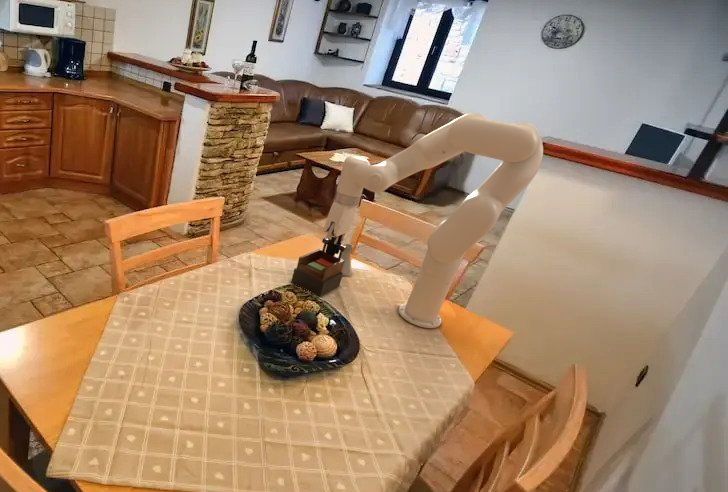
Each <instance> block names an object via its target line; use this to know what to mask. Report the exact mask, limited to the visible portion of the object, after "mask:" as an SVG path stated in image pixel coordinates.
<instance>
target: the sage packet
mask: <svg viewBox="0 0 728 492" xmlns="http://www.w3.org/2000/svg"><path fill="white" fill-rule="evenodd" d="M307 266H308V267H310V268H312V269H314V270H316V271H318V272H320V273H322V272H323V268H326V267H324V266H322V265H320V264H317V263H315V262H312V263H309V264H308V265H307Z"/></svg>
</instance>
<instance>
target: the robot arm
mask: <svg viewBox="0 0 728 492" xmlns="http://www.w3.org/2000/svg"><path fill="white" fill-rule="evenodd" d="M465 152H466V153H468V154H473V155H477V156H481V157H484V158H485V157H486V158H490V159H495V160H499V161H501V162H500V164H499V165H498V166H497V167H496V168H495V169H494V170H493V171H492V173H491V174H490V175H489V176H488V177H487V178H486V179H485V180H484V181H483V182H482V183H481V184H480V185H479V186H478V187H477V188H476V189H475V190H474V191H473V192H471V193H470V194H469V195H467V196H466V197H465V198H464V199H463V201H462V202H461V203H460V205H458V206H457V208H456V209H455V210H454V211H453V212H452V213H451V214H449V216H448V217H447V218H446V219H444V220H442V221H440V222H439V224H437V226H435V228H434V229H433V231H432V232H431V234H430V235H429V236H428V239H427V243H426V244H427V247H426V248H427V250H426V252H425V255H424V257H423V260H422V262H421V265H420V267H419V270H418V273H417V275H416V277H415V281H414V283H413V287H412V289H411V291H410V294H409V295H408V298H407V302H406V303H402V304H400V305H399V308H398V314H399V315H400V316H401V317H402V318H403V319H404V320H405V321H407V322H408V323H410V324H412V325H414V326H418V327H420V328H425V329H436V328H438V327H440V326H441V325H442V321H443V319H442V318H441V316H440V315H439V314H440V312H441V310H442V308H443V306H444V303H445V301H446V298H447V295H448V293H449V291H450V288H451V286H452V284H453V282H454V279H455V277H456V274H457V272H458V270H459V268H460V265H461V263H462V260H463V259H464V256H465V254H466V253H467V252H469V250H470V249H471V248H472V247H474V246H475V245H476V244H477V243H478V242H480V240H481V239H482V238H483V237H485V236H486V235H487V233H489V232H490V231H491V229H492V228H494V226H495V225H496V223H497V222H498V220H499V218H500V216H501V213H502V212H503V211H504V210H505V209H506V208H507V207H508V206H509V205H510V204H511V203H512V202H513V201H514V200H515V199H516V198H517V197H518V196H519V195H520V194H521V193H522V192H523V191H524V190H525V189H526V188H527V187H528V186H529V184H531V182H532V181H533V180H534V178H535V177H536V176H537V174H538V172H539V170H540V167H541V164H542V161H543V157H544V145H543V139H542V136H541V134H540V132H539V130H538V128H537V127H536V126H535V125H534V124H532V123H531V122H527V121H520V122H519V121H518V122H515V123H510V122H504V121H499V120H493V119H490V118H486V117H485V116H484V115H483V114H481V113H479V112H467V113H465V114H463V115H461V116H459V117H457V118H455V119H453V120H452V121H450V122H448V123H446V124H445V125H443V126H441V127H439V128H437V129H435V130H433V131H431V132H430V133H428V134H426V135H424V136H423V137H422V136H421V138H419V139H417V140H416V141H415V142H413V143H412V144H411V145H410V146H408V147H406V148H405V149H403V150H401V151H399V152H397V153H396V154H394V155H392V156H390V157H388V158H386V159H385V160H383V161H380V162H379V163H377V164H370V161H369V160H368V159H366V158H363V157H360V156H352V155H350V156H347V157H346V158H345V159H344V161H343V164H342V167H341V172H340V175H339V179H338V184H337V187H336V190H335V193H334V198H333V202H332V205H331V207H330V209H329V211H328V214H327V217H326V220H325V223H324V227H323V232H324V233H327V234H326V236H325V238H326V239H328V244H327V245H326V248H325V252H326V253H327V254H330V255H332V256H336V255H339V253H340V250H338V249H337V245H338V244H340V245H342V243H343V242H344V238H345V236H346V234H347V233H348V232H350V231H351V230H352V227H353V224H354V220H355V217H356V213H357V209H358V207H359V204H360V202H361V197H362V194H363V191H364V189H365V190H367V191H369V192H372V193H381V192H385V191H386V190H387V189H388V188H390V187H391V186H393V185H395V184H397V183H398V182H400V181H402V180H405V179H406V178H408V177H410V176H412V175H414V174H416V173H418V172H421V171H425V170H430V169H432V168H435V167H436V166H439V165H440V164H442V163H444V162H447V161H448V160H451V159H453V158H455V157H457V156H459V155H461V154H462V153H465Z"/></svg>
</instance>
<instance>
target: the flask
mask: <svg viewBox="0 0 728 492" xmlns="http://www.w3.org/2000/svg"><path fill="white" fill-rule="evenodd" d="M343 246H344V247H346V251H345V252H342V256H341V259H343V260H345V261H344V265H343V268H342V271H341V272H342V273H343V275H342V276H351V274H352V272H353V271H352V258H351V256H352V249H354V245H353V244H351V243H348V242H347V243H345V242H344V245H343Z"/></svg>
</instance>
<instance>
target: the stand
mask: <svg viewBox="0 0 728 492" xmlns="http://www.w3.org/2000/svg"><path fill="white" fill-rule="evenodd" d="M343 276H344V275H343V273H342V272H341V273H339V274H337V275H335V276H333V277H331V278H329V279H327V280H325V281H323V282H321V281H319V280H317V279H315V278H313V277H311V276H309V275H307V274H305V273H303V272H301V271H299V270H297V267H295V268H294V269H293V272H292V277H291V281H290V283H291V284H293V285H295V284H297V285H299V286H301V287H303V288H305V289H307V290H309V291H311V292H312V293H311V292H310V293H311V294H313V293H314V294H313V295H314V296H317V297H318V298H321V297H323V296H324V295H326V294H328V293H330V292H332V291H334V290H336V289H338V288H339V287H340V284H341V282H342V279H343ZM297 285H296V286H297ZM299 286H298V287H299ZM301 287H300V288H301ZM303 288H302V289H303ZM305 289H304V290H305ZM307 290H306V291H307ZM309 291H308V292H309Z"/></svg>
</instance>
